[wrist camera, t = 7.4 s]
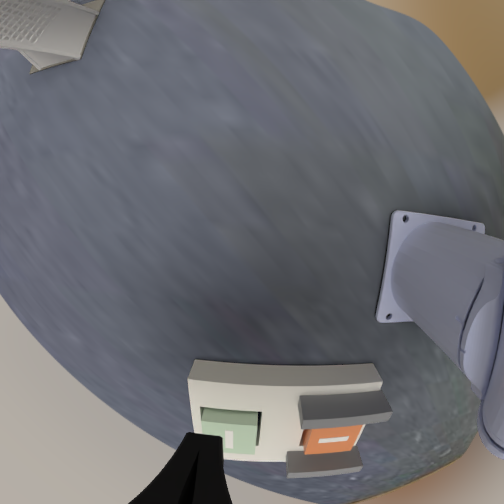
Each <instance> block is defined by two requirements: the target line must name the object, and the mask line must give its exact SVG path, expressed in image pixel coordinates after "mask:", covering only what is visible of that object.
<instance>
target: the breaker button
mask: <svg viewBox="0 0 504 504" xmlns="http://www.w3.org/2000/svg"><path fill="white" fill-rule="evenodd" d="M362 426H363V425H356V426H347V427H336V428H322V429H304V430H303V433H302V440H303V448H304V455H306V454H322V453H333V452H343V451H351V449H352V447H353V445H354V443H355V441H356V439H357V437H358V435H359V432H360V430H361V428H362Z"/></svg>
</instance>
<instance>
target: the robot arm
mask: <svg viewBox="0 0 504 504" xmlns="http://www.w3.org/2000/svg"><path fill="white" fill-rule="evenodd" d="M404 215H405V216H406V221H405V222H403V216H404ZM472 227H473V230H472ZM389 313H390V316H389V317H387V318H386V316H387V314H389ZM375 317H376V320H377V321H378V322H380V323H388V322H410V321H414V322H415V323H416V324H417V325H418V326H419V327H420V328H421V329H422V330H423V331H424V332H425V333H426V334H427V335H428V336H429V337H430V338H431V339H432V340H433V341H434V342H435V343H436V344H437V345H438V347H439V348H440V349H441V350H442V351H443V352H444V353H445V354H446V355H447V356H448V357H449V358H450V359H451V360H452V361H453V362H454V363H455V365H456V366H457V367H458V368H459V369H460V370H461V371H462V372H463V373H464V374H465V375H466V377H467V378H468V379H469V380H470V381H471V390H472V391H473V392H474V393H475V394H476V395H477V397H478V398H479V399H480V400H481V403H480V406H479V410H478V416H477V427H478V432H479V436H480V438H481V440H482V443H483V444H484V445H485V447H486V448H487V449H488V450H489V451H490V452H491V453H492V454H493V455H495V456H497V457H498V458H500V459H504V240H502V239H499V238H495V237H492V236H489V235H486V234H485V226H484V224H483V223H479V222H473V221H468V220H462V219H456V218H450V217H443V216H437V215H430V214H423V213H416V212H409V211H401V210H395V211H394V212H393V213H392V215H391V222H390V232H389V240H388V248H387V255H386V262H385V268H384V274H383V280H382V285H381V291H380V296H379V301H378V306H377V310H376V315H375ZM223 464H224V457H223V438H222V437H221V436H216V435H207V434H199V433H191V432H188V433H186V435H185V437H184V439H183V440H182V442H181V444H180V446H179V447H178V449H177V450H176V452H175V453H174V455H173V456H172V458H171V459H170V460H169V461H168V463H167V464H166V465H165V467H164V468H163V469H162V471H161V472H160V473H159V474H158V475H157V476H156V477H155V479H154V480H153V481H152V482H151V483H150V484H149V485H148V486H147V487H146V488H145V489H144V490H143V491H142V492H141V493H140V494H139V495H138V496H137V497H135V498H134V499H133V500H132V501H131V502H129V503H128V504H232V501H231V498H230V495H229V492H228V488H227V484H226V479H225V474H224V469H223Z"/></svg>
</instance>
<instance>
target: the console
mask: <svg viewBox="0 0 504 504" xmlns="http://www.w3.org/2000/svg"><path fill="white" fill-rule="evenodd" d="M382 383H383V381H382V379H381V377H380V375H379V373H378V372H377V370H376V368H375V366H374V364H373V363H367V364H350V365H320V366H289V365H258V364H241V363H228V362H216V361H206V360H197V359H195V360H194V363H193V366H192V368H191V371H190V374H189V376H188V388H189V397H190V405H191V412H192V420H193V427H194V433H199V434H203V433H202V425H201V419H202V415H203V411H204V407H208V408H217V409H228V410H240V411H258V412H260V421H259V426H257V436H256V446H255V455H251V454H235V453H224V452H223V457H224V459H228V460H241V461H261V462H286V470H287V478H304V477H319V476H329V475H338V474H345V473H352V472H359V471H360V470H361V468H362V467H363V464H362V460H361V457H360V454H359V451H358V447H357V446H355V445H356V443H357V441H358V439H359V437H360V435H361V433H362V431H363V429H364V426H365V424H371V423H378V422H384V421H388V420H389V418H390V416H391V414H392V412H393V411H392V409H391V407H390V405H389V403H388V401H387V399H386V397H385V395H384V393H383V391H382V390H380V388H381V385H382ZM356 425H363V426H362V428H361V430H360V432H359V435H358V437H357V439H356V441H355V443H354V445H353V447H352V449H351V451H343V452H333V453H322V454H306V455H304V448H303V440H302V433H303V430H304V429H322V428H336V427H347V426H356Z"/></svg>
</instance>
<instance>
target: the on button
mask: <svg viewBox="0 0 504 504" xmlns="http://www.w3.org/2000/svg"><path fill="white" fill-rule="evenodd" d="M201 425H202V433H203V434H207V435H216V436H221V437H222V438H223V452H224V453H235V454H251V455H255V446H256V436H257V426H258V411H240V410H228V409H217V408H208V407H204V411H203V415H202V419H201Z"/></svg>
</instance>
